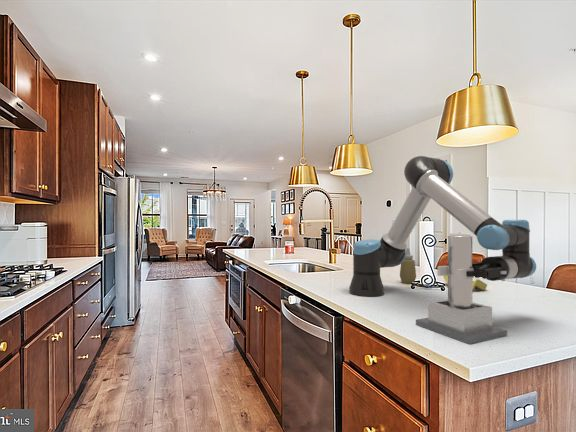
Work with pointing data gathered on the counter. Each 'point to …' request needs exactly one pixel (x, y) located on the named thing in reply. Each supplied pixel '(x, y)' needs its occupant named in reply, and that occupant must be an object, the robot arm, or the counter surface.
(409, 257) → the squeeze bottle
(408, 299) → the counter surface
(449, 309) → the plate
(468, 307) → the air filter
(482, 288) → the banana
